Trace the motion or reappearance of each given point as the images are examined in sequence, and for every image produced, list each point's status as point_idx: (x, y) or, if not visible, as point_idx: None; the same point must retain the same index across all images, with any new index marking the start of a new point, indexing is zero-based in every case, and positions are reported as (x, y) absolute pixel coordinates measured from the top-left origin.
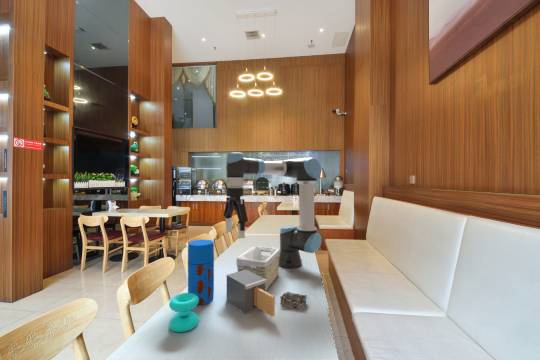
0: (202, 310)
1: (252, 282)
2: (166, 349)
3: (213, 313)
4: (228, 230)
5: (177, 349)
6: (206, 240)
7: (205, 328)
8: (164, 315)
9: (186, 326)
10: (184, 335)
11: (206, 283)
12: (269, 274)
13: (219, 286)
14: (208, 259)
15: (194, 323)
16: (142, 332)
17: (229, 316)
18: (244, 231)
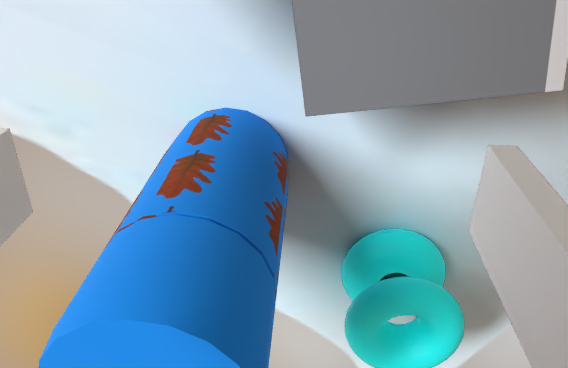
0: (329, 186)
1: (545, 25)
2: (478, 325)
3: (382, 159)
4: (5, 196)
5: (501, 306)
6: (90, 352)
7: (461, 217)
8: (283, 295)
9: (443, 283)
10: (449, 277)
11: (283, 209)
12: None
13: (118, 28)
14: (268, 289)
15: (441, 258)
16: (348, 353)
17: (451, 114)
18: (560, 204)
